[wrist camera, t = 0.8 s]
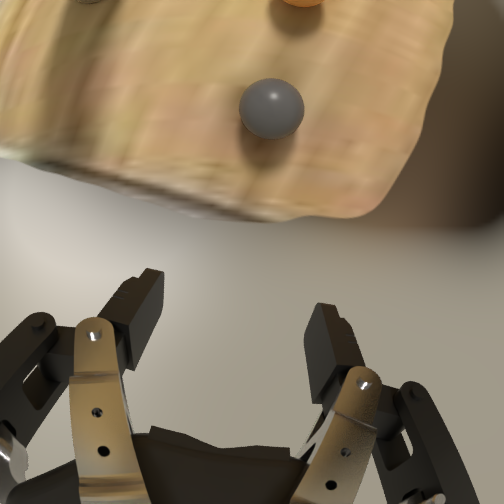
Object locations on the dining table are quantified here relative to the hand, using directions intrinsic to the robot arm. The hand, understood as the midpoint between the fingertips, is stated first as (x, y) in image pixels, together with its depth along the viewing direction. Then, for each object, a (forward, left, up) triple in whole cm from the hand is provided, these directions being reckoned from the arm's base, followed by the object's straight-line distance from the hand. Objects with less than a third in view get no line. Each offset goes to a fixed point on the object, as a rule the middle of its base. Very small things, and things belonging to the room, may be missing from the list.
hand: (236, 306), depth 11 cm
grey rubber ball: (-8, +4, -15) cm, 17 cm away
